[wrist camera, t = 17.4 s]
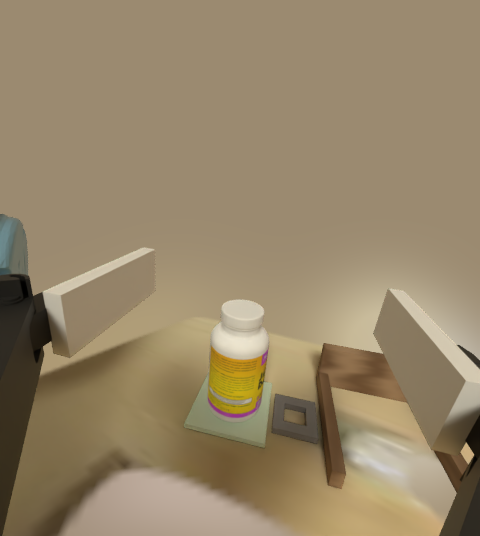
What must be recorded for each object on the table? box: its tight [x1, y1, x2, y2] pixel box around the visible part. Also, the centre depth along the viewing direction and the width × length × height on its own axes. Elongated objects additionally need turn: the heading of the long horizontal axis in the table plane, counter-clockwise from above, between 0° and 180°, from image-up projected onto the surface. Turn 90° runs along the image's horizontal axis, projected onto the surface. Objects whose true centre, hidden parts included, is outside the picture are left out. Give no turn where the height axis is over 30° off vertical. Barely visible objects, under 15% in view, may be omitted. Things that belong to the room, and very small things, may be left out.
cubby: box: [316, 343, 468, 492], centre depth 29 cm, size 13×15×6 cm
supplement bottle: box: [207, 300, 269, 423], centre depth 30 cm, size 7×7×13 cm
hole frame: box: [272, 394, 319, 444], centre depth 31 cm, size 5×5×1 cm
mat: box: [184, 372, 272, 448], centre depth 32 cm, size 9×9×1 cm
